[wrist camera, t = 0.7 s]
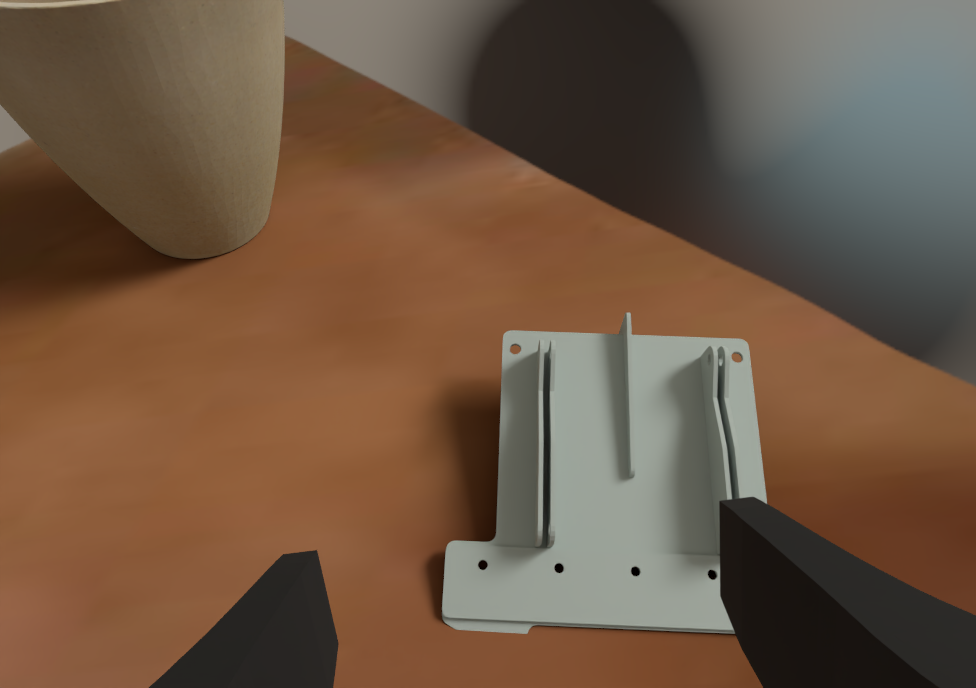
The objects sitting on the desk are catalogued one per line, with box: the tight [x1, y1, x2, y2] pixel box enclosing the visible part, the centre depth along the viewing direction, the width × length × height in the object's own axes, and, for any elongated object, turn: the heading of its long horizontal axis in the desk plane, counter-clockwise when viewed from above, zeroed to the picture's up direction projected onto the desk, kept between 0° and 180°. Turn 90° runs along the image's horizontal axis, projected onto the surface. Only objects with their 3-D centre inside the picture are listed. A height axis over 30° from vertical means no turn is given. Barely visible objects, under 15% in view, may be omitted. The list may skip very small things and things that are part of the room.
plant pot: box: [0, 0, 285, 259], centre depth 34 cm, size 15×15×16 cm
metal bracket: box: [442, 313, 767, 634], centre depth 29 cm, size 14×6×15 cm
